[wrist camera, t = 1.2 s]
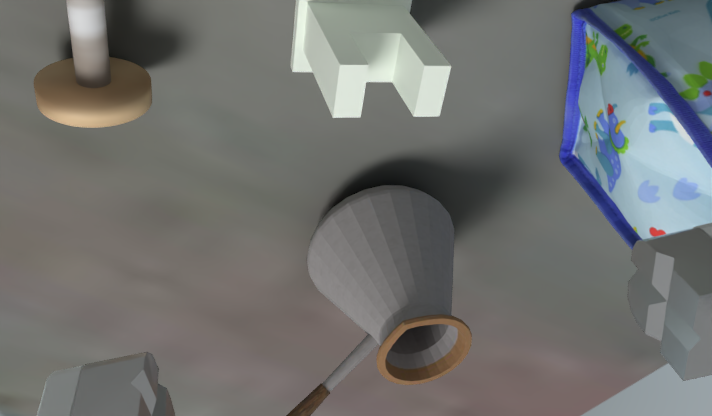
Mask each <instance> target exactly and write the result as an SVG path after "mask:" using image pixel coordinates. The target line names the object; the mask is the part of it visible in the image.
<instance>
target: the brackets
mask: <svg viewBox="0 0 712 416" xmlns="http://www.w3.org/2000/svg"><path fill="white" fill-rule="evenodd" d="M411 4H412V0H296V7H295V19H294V31H293V43H292V55H291V69H292V71H293V72H313V74H314V76H315V78H316V80H317V83H318V85H319V87H320V89H321V92H322V94H323V96H324V98H325V101H326V103H327V105H328V107H329V110H330V112H331V114H332V116H333V118H341V117H361V111H362V105H363V99H364V92H365V86H366V82H392V83H393V84H394V86H395V87H396V89H397V91H398V92H399V94H400V95H401V97H402V99H403V100H404V102H405V104H406V105H407V107H408V108H409V110H410V112H411V113H412V115H413V116H414V117H431V116H440V112H441V108H442V103H443V99H444V95H445V91H446V86H447V82H448V78H449V74H450V70H451V65H450V64H449V62H448V61H447V60H446V59H445V57H444V56H443V55H442V54H441V52H440V51H439V50H438V49H437V47H436V46H435V45H434V44H433V42H432V41H431V40H430V38H429V37H428V36H427V35H426V33H425V32H424V31H423V30H422V28H421V27H420V26H419V25H418V23H417V22H416V21H415V20H414V18H413V17H412V16H411V15H410V9H411Z"/></svg>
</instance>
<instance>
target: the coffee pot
mask: <svg viewBox="0 0 712 416" xmlns="http://www.w3.org/2000/svg"><path fill="white" fill-rule="evenodd" d="M453 257H454V226H453V223H452V220H451V217H450V214H449V213H448V212H447V210H446V209H445V208H444V207H443V205H442V204H441V203H440V202H439V201H438V200H436V199H435V198H433V197H431V196H430V195H428V194H426V193H425V192H422V191H420V190H418V189H414V188H410V187H406V186H402V185H383V186H378V187H374V188H369V189H365V190H363V191H360V192H358V193H356V194H353V195H351V196H349V197H347V198H345V199H344V200H343V201H341V202H340V203H338V204H337V205H336V206H334V207H333V208H332V209H331V210H330V211H329V212H328V213H327V214H326V215H325V216H324V217H323V219H322V220H321V221H320V222H319V224H318V226H317V228H316V230H315V232H314V234H313V236H312V238H311V241H310V245H309V251H308V256H307V263H308V270H309V275H310V277H311V279H312V281H313V282H314V284H315V286H316V287H317V289H318V290H319V291H320V292H321V293H322V294H323V295H325V296H326V297H327V298H328V299H329V300H330V301H331V302H332V303H333V304H335V305H336V306H337V307H338V308H339V309H340V310H341V311H342V312H344V313H345V314H346V315H347V316H348V317H349V318H350V319H351V320H353V321H354V322H355V323H356V324H357V325H358V326H359V327H360V328H362V329H363V330H364V331H365V332H366V333H367V334H368V335H367V336H366V337H365V338H364V339H363V340H362V342H361V343H360V344H359V345H358V346H357V347H356V348H355V349H354V350H353V351H352V352H351V353H350V354H349V356H348V357H347V358H346V359H345V360H344V361H343V362H342V363H341V364H340V365H339V366H338V367H337V368H336V369H335V371H334V372H333V373H332V374H331V375H330V376H329V377H328V378H327V379H326V380H325V381H324V382H323V383H322V384H320V385H319V386H318V387H317V388H316V389H315V390H313V391H312V392H311V393H310V394H309V395H308V396H307V397H306V398H305V399H304V400H303V401H302V402H301V403H299V404H298V405H297V406H296V407H295V408H294V409H293V410H292V411H291V412H290V413H289V414H288V415H286V416H310V415H311V414H312V413H313V412H314V411H315V410H316V409H317V407H318V406H319V405H320V404H321V403H322V402H323V401H324V399H325V398H326V397H327V396H328V395H329V394H330V391H331V390H332V389H333V388H334V387H335V386H336V385H337V384H338V383H339V382H340V381H341V380H342V379H343V378H344V377H346V376H347V375H348V374H349V373H350V372H351V371H352V370H353V369H354V368H355V367H356V366H357V365H358V364H359V363H360V362H361V361H362V360H363V359H364V358H365V357H366V356H367V355H368V354H369V353H370V352H371V351H372V350H373V349H374V348H375V347H376V346H377V345H378V344H380V348H379V351H378V354H377V368H378V369H379V371H380V373H381V374H382V376H384V377H385V378H386V379H388V380H389V381H391V382H394V383H397V384H404V385H413V384H421V383H425V382H429V381H432V380H434V379H437V378H439V377H441V376H443V375H445V374H447V373H448V372H450V371H451V370H453V369H454V368H455V367H456V366H457V365H459V364H460V363H461V362H462V361H463V359H464V358H465V357H466V355H467V354H468V352H469V349H470V347H471V340H472V334H471V332H470V329H469V327H468V326H467V325H466V324H465V323H464V322H463V321H462V320H460V319H458V318H456V317H454V316H452V315H451V310H452V284H453Z"/></svg>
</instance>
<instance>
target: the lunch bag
mask: <svg viewBox="0 0 712 416" xmlns="http://www.w3.org/2000/svg"><path fill="white" fill-rule="evenodd" d="M571 16H572V34H571V51H570V65H569V79H568V87H567V94H566V103H565V113H564V129H563V140H562V144H561V148H560V154H559V157H560V161H561V163H562V164H563V166H565V167H566V169H567V170H568V171H569V172H570V173H571V175H572V176H573V177H574V178H575V180H577V182H578V183H579V184H580V185H581V187H582V188H583V189H584V190H585V191H586V193H587V194H588V195H589V197H590V198H591V199H592V200H593V202H594V203H595V204H596V205H597V207H598V208H599V209H600V211H601V212H602V213H603V215H604V216H605V217H606V219H607V220H608V221H609V222H610V224H611V225H612V226H613V228H614V229H615V230H616V231H617V232H618V233H619V235H620V236H621V237H622V239H623V240H624V241H625V242H626V243H627V244H628V246H629V247H630V248H631V249H633V247H634V245H635V243H636V241H638V240H643V239H647V238H651V237H656V236H660V235H664V234H668V233H673V232H677V231H681V230H685V229H691V228H693V227H696V226H700V225H704V224H708V223H712V0H621V1H616V2H611V3H606V4H599V5H596V6H593V7H590V8H585V9H578V10H576V11H574V12H573V13H571Z"/></svg>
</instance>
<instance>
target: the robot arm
mask: <svg viewBox="0 0 712 416" xmlns="http://www.w3.org/2000/svg"><path fill="white" fill-rule="evenodd" d="M631 261H632V262H633V263H634V265H635V266H636V267H637V268H638V270H637V271H636V272H635V274H634V275H633V276H632V277H631V279H630V280H629V282H628V296H627V297H628V301H629V305H630V309H631V313H632V315H633V317H634V319H635V321H636V323H637V324H638V325H639V327H640V328H641V329H642V331H643V332H644V333H645V334H647V335H649V336H651V337H653V338H656V339H658V340H660V341H661V347H660V353H661V354H662V356H663V357H664V358H665V359H666V360H667V362H668V363H669V364H670V365H671V367H672V368H673V369H674V370H675V371H676V373H677V374H678V375H679V376H680V378H681V379H682V380H683V381H686V380H690V379H695V378H699V377H704V376H709V375H712V223H708V224H704V225H700V226H696V227H693V228H691V229H685V230H681V231H677V232H673V233H668V234H664V235H660V236H656V237H651V238H647V239H643V240H638V241H636V243H635V245H634V247H633V249H632V256H631ZM158 372H159V368H158V366H157V364H156V362H155V359H154V357H153V355H152V354H151V353H149V352H144V353H139V354H134V355H129V356H124V357H119V358H114V359H109V360H104V361H99V362H94V363H90V364H85V365H84V366H78V367H73V368H68V369H63V370H58V371H53V372H52V373H51V375H50V376H49V377H48V378H47V380H46V384H45V387H44V391H43V395H42V398H41V402H40V406H39V409H38V413H37V416H175V413H174V409H173V405H172V401H171V398H170V395H169V393H168V390H167V388H165V387H164V386H162V385H160V384H158Z"/></svg>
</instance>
